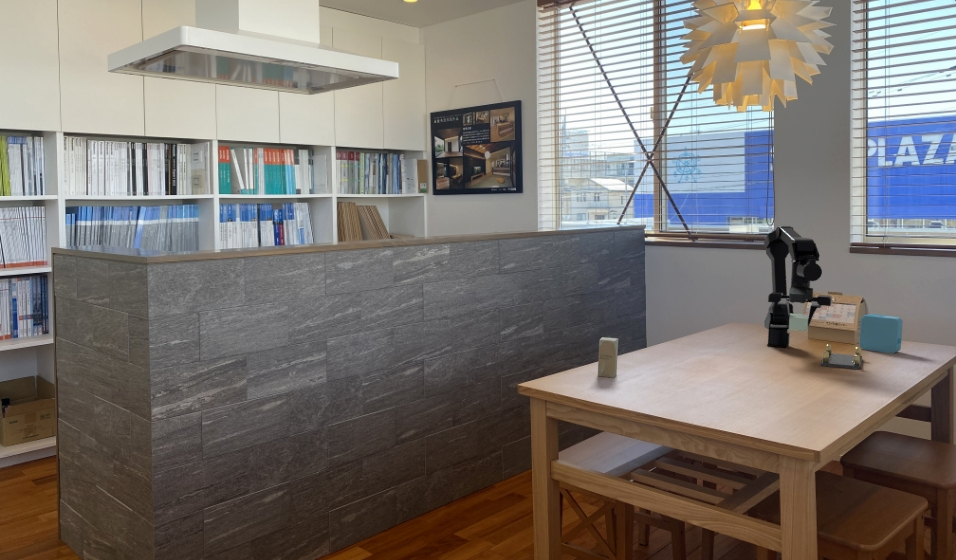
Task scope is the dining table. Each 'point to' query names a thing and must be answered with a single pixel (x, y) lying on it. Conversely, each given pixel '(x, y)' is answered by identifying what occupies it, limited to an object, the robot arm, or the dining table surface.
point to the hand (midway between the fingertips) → (798, 325)
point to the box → (608, 357)
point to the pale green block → (798, 322)
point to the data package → (881, 333)
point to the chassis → (842, 359)
